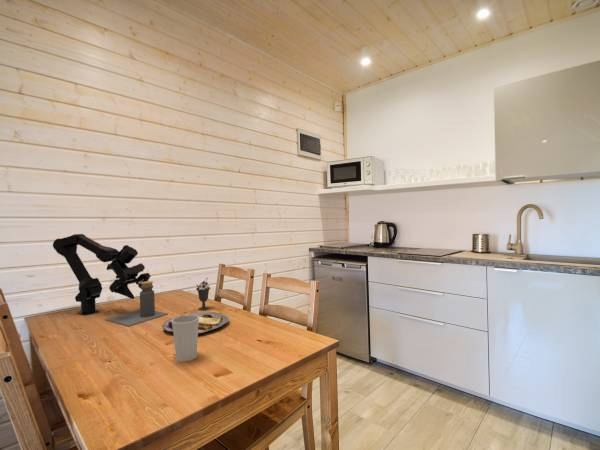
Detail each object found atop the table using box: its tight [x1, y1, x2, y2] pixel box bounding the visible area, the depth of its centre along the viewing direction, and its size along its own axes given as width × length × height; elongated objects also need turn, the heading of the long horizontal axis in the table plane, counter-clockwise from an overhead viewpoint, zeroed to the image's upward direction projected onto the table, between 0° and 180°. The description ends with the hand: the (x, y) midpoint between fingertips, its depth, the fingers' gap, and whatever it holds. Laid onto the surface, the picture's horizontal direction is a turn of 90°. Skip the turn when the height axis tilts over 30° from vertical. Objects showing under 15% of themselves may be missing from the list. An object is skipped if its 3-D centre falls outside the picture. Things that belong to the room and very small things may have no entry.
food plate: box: [162, 311, 230, 334], centre depth 123 cm, size 25×23×4 cm
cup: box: [171, 314, 199, 362], centre depth 94 cm, size 8×8×12 cm
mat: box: [104, 309, 169, 328], centre depth 135 cm, size 18×18×1 cm
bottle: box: [139, 280, 156, 317], centre depth 136 cm, size 6×6×15 cm
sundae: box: [195, 277, 211, 311], centre depth 146 cm, size 7×7×15 cm
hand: (141, 295), depth 137 cm, fingers open, 9 cm apart
